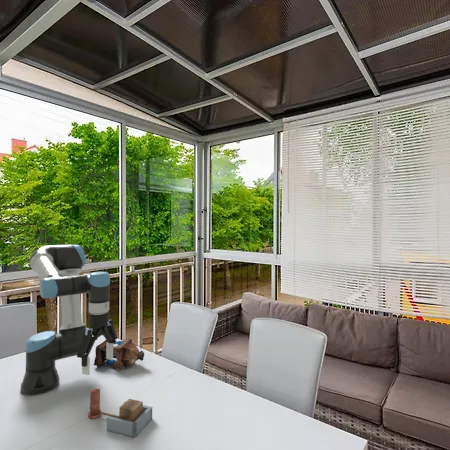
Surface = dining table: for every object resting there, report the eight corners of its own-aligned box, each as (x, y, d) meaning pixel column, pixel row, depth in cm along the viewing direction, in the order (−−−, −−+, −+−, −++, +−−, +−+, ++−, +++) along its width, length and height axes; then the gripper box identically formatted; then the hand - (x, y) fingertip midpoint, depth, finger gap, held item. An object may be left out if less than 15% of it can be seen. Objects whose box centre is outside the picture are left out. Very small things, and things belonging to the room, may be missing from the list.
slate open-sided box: (106, 430, 113) (106, 417, 113) (125, 412, 124) (125, 400, 124) (134, 437, 110) (134, 425, 110) (152, 418, 120) (152, 407, 120)
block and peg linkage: (84, 417, 120) (84, 393, 120) (95, 408, 125) (95, 386, 125) (133, 430, 113) (133, 405, 113) (142, 420, 119) (142, 396, 119)
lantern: (99, 375, 166) (143, 378, 161) (86, 361, 155) (133, 363, 151) (111, 346, 178) (152, 348, 173) (99, 331, 168) (143, 332, 163)
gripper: (83, 322, 109) (83, 383, 110) (126, 305, 133) (125, 354, 133) (66, 320, 112) (65, 379, 112) (111, 303, 135) (110, 352, 136)
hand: (98, 366), depth 123 cm, fingers open, 13 cm apart
